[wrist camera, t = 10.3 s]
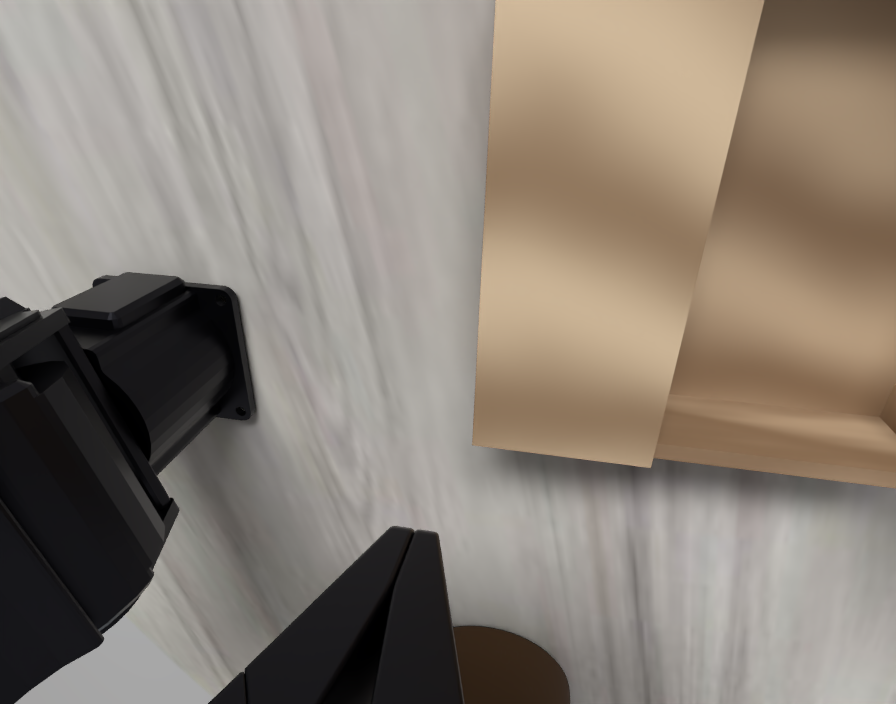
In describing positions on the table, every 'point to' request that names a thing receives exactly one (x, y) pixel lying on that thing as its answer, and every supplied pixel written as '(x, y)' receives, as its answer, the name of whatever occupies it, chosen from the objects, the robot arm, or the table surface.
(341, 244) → the table surface
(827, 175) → the wooden box
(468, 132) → the table surface
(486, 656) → the olive oil
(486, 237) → the flap
